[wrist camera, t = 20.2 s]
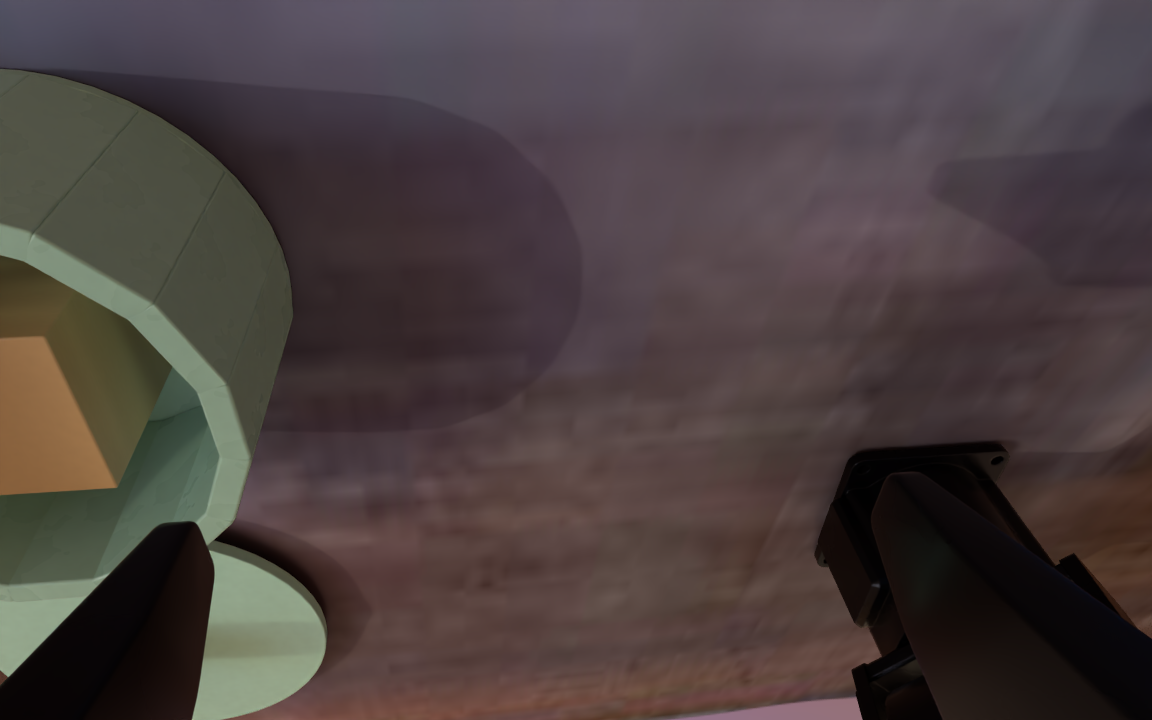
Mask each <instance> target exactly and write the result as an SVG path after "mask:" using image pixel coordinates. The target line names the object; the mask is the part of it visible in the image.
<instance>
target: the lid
mask: <svg viewBox="0 0 1152 720" xmlns="http://www.w3.org/2000/svg"><path fill="white" fill-rule="evenodd" d="M207 547H208V550H209V552H210V554H211V557H212V559H213V563H214V569H215V579H214V587H213V594H212V601H211V608H210V615H209V622H208V629H207V636H206V643H205V650H204V657H203V664H202V671H201V678H200V684H199V690H198V696H197V701H196V705H195V709H194V713H193V718H192V720H222V719H227V718H232V717H237V716H241V715H245V714H248V713H252V712H255V711H258V710H261V709H263V708H266V707H269V706H271V705H273V704H275V703H277V702H279V701H282V700H284V699H285V698H287V697H289V696H290V695H292V694H293V693H295V692H296V691H298V690H299V689H300V688H301V687H303V686H304V685H305V684H306V683H307V682H308V681H309V680H310V679H311V678H312V677H313V675H314V674H315V673H316V672H317V670H318V668H319V666H320V665H321V663H322V661H323V657H324V654H325V651H326V644H327V632H328V631H327V625H326V620H325V617H324V615H323V612H322V610H321V607H320V606H319V604H318V603H317V601H316V600H315V598H314V597H313V595H312V594H311V593H310V592H309V591H308V590H307V589H306V588H305V587H304V586H303V584H301V583H300V582H299V581H298V580H296V579H295V578H294V577H293V576H292V575H290V574H289V573H288V572H286V571H284V570H283V569H281V568H280V567H278V566H276V565H275V564H273V563H271V562H269V561H267V560H265V559H263V558H261V557H259V556H257V555H255V554H253V553H250V552H248V551H245V550H242V549H240V548H237V547H235V546H232V545H228V544H225V543H221V542H218V541H214V540H213V541H212V542H211V543H210V544H209V545H208V546H207ZM85 598H86V597H75V598H62V599H49V600H36V601H24V602H15V601H13V602H6V601H0V671H2V672H3V673H4V674H5V675H6V676H8V677H9V676H10V675H11V674H12V673H13V672H14V671H15V670H16V669H17V668H18V667H19V666H20V665H21V664H22V663H23V662H24V661H25V660H26V659H27V658H28V657H29V655H30V654H31V653H32V652H33V651H34V650H35V649H36V648H37V647H38V646H39V645H40V644H41V643H42V642H43V641H44V640H45V639H46V638H47V637H48V636H49V635H50V634H51V633H52V632H53V631H54V630H55V629H56V628H57V627H58V626H59V625H60V624H61V623H62V622H63V621H64V620H65V619H66V618H67V617H68V616H69V615H70V613H71V612H72V611H73V610H74V609H75V608H76V607H77V606H78V605H79V604H80V603H81V602H82V601H83V600H84V599H85Z"/></svg>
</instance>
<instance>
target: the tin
mask: <svg viewBox="0 0 1152 720" xmlns="http://www.w3.org/2000/svg"><path fill="white" fill-rule="evenodd" d="M0 255H1V256H5V257H9V258H13V259H17V260H21V261H24V262H26V263H28V264H29V265H31V266H33V267H35V268H37V269H38V270H40V271H42V272H44V273H45V274H47V275H49V276H51V277H53V278H54V279H56V280H58V281H60V282H61V283H63V284H65V285H67V286H69V287H70V288H72V289H74V290H76V291H78V292H79V293H81V294H83V295H85V296H86V297H88V298H90V299H92V300H94V301H95V302H97V303H99V304H101V305H102V306H104V307H106V308H108V309H110V310H111V311H113V312H115V313H117V314H118V315H120V316H122V317H124V318H126V319H127V320H129V321H130V322H131V323H132V324H133V325H134V326H135V327H136V328H137V330H138V331H139V332H140V333H141V334H142V335H143V336H144V337H145V338H146V339H147V340H148V341H149V342H150V343H151V344H152V345H153V346H154V347H155V348H156V350H157V351H158V352H159V353H160V354H161V355H162V356H163V357H164V358H165V359H166V360H167V361H168V362H169V363H170V364H171V365H172V366H173V367H172V369H171V371H170V374H169V376H168V378H167V380H166V382H165V384H164V387H163V389H162V391H161V393H160V395H159V398H158V400H157V402H156V404H155V406H154V409H153V411H152V413H151V415H150V417H149V420H148V422H147V424H146V426H145V428H144V431H143V433H142V435H141V437H140V439H139V442H138V444H137V446H136V448H135V450H134V452H133V455H132V457H131V459H130V461H129V463H128V466H127V468H126V470H125V472H124V474H123V477H122V479H121V481H120V483H119V485H118V487H117V488H107V489H91V490H75V491H59V492H43V493H28V494H12V495H0V601H6V602H13V601H15V602H24V601H36V600H49V599H62V598H75V597H87V596H88V595H89V594H90V593H91V592H92V591H93V590H94V589H95V588H96V587H97V586H98V585H99V584H100V583H101V582H102V581H103V580H104V579H105V578H106V577H107V576H108V575H109V574H110V573H111V572H112V570H113V569H114V568H115V567H116V566H117V565H118V564H119V563H120V562H121V561H122V560H123V559H124V558H125V557H126V556H127V555H128V554H129V553H130V552H131V551H132V550H133V549H134V548H135V547H136V546H137V545H138V544H139V543H140V542H141V541H142V540H143V539H144V538H145V537H146V536H147V535H148V534H149V533H150V532H151V531H152V530H153V529H154V528H155V527H156V526H158V525H159V524H161V523H166V522H179V521H193V522H195V523H196V524H197V525H198V526H199V528H200V530H201V532H202V535H203V537H204V540H205V542H206V545H207V546H208V545H209V544H210V543H211V542H212V541H213V540H214V539H216V538H217V537H218V536H219V535H220V534H221V533H222V532H223V531H224V530H225V529H227V528H228V527H229V526H230V525H231V524H232V523H233V521H234V520H235V519H236V516H237V512H238V509H239V505H240V502H241V498H242V495H243V491H244V488H245V484H246V481H247V477H248V473H249V470H250V466H251V463H252V459H253V456H254V452H255V449H256V445H257V442H258V438H259V435H260V431H261V428H262V424H263V421H264V417H265V414H266V410H267V407H268V403H269V400H270V396H271V393H272V389H273V386H274V382H275V379H276V375H277V372H278V368H279V365H280V361H281V358H282V354H283V350H284V347H285V343H286V340H287V336H288V333H289V329H290V326H291V322H292V319H293V307H292V290H291V283H290V276H289V271H288V267H287V264H286V261H285V258H284V254H283V251H282V248H281V246H280V244H279V242H278V240H277V238H276V235H275V233H274V231H273V229H272V227H271V225H270V223H269V222H268V220H267V219H266V217H265V215H264V214H263V212H262V211H261V209H260V208H259V206H258V204H257V203H256V201H255V200H254V199H253V198H252V196H251V195H250V194H249V193H248V192H247V190H246V189H245V188H244V187H243V185H242V184H241V183H240V182H239V181H238V179H237V178H236V177H235V176H234V175H233V174H232V173H231V172H230V171H229V170H228V169H227V168H226V167H225V166H224V165H223V164H222V163H221V162H220V161H218V160H217V159H216V158H215V157H214V156H213V155H212V154H211V153H209V152H208V151H207V150H206V149H204V148H203V147H202V146H201V145H199V144H198V143H197V142H196V141H194V140H193V139H192V138H191V137H189V136H188V135H186V134H185V133H183V132H182V131H180V130H179V129H177V128H176V127H174V126H173V125H171V124H169V123H168V122H166V121H165V120H163V119H162V118H160V117H159V116H157V115H155V114H153V113H151V112H149V111H147V110H145V109H143V108H141V107H139V106H137V105H135V104H133V103H131V102H129V101H127V100H125V99H123V98H120V97H118V96H115V95H113V94H110V93H107V92H105V91H102V90H100V89H97V88H95V87H92V86H89V85H85V84H82V83H78V82H75V81H71V80H68V79H64V78H61V77H57V76H51V75H46V74H40V73H34V72H28V71H22V70H11V69H0Z"/></svg>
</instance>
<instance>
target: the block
mask: <svg viewBox="0 0 1152 720" xmlns="http://www.w3.org/2000/svg"><path fill="white" fill-rule="evenodd" d="M172 367H173V366H172V365H171V364H170V363H169V362H168V361H167V360H166V359H165V358H164V357H163V356H162V355H161V354H160V353H159V352H158V351H157V350H156V348H155V347H154V346H153V345H152V344H151V343H150V342H149V341H148V340H147V339H146V338H145V337H144V336H143V335H142V334H141V333H140V332H139V331H138V330H137V328H136V327H135V326H134V325H133V324H132V323H131V322H130V321H129V320H127V319H126V318H124V317H122V316H120V315H118V314H117V313H115V312H113V311H111V310H110V309H108V308H106V307H104V306H102V305H101V304H99V303H97V302H95V301H94V300H92V299H90V298H88V297H86V296H85V295H83V294H81V293H79V292H78V291H76V290H74V289H72V288H70V287H69V286H67V285H65V284H63V283H61V282H60V281H58V280H56V279H54V278H53V277H51V276H49V275H47V274H45V273H44V272H42V271H40V270H38V269H37V268H35V267H33V266H31V265H29V264H28V263H26V262H24V261H21V260H17V259H13V258H9V257H5V256H1V255H0V495H12V494H28V493H43V492H59V491H75V490H91V489H107V488H117V487H118V485H119V483H120V481H121V479H122V477H123V474H124V472H125V470H126V468H127V466H128V463H129V461H130V459H131V457H132V455H133V452H134V450H135V448H136V446H137V444H138V442H139V439H140V437H141V435H142V433H143V431H144V428H145V426H146V424H147V422H148V420H149V417H150V415H151V413H152V411H153V409H154V406H155V404H156V402H157V400H158V398H159V395H160V393H161V391H162V389H163V387H164V384H165V382H166V380H167V378H168V376H169V374H170V371H171V369H172Z"/></svg>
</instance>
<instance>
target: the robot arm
mask: <svg viewBox="0 0 1152 720" xmlns="http://www.w3.org/2000/svg"><path fill="white" fill-rule="evenodd" d="M1009 458H1010V455H1009V453H1008V452H1007V451H1006V449H1005V448H1004V447H1003V446H1002V445H999V444H993V445H977V446H962V447H946V448H931V449H915V450H900V451H884V452H869V453H860V454H856V455H854V456H852V457H851V458H850V459H849V460H848V462H847V464H846V467H845V470H844V472H843V475H842V478H841V481H840V484H839V486H838V489H837V492H836V495H835V497H834V500H833V502H832V503H831V505H830V508H829V511H828V514H827V516H826V519H825V522H824V525H823V528H822V530H821V533H820V536H819V539H818V545H817V548H816V550H815V554H814V556H815V558H816V561H817V563H818V564H819V566H822V567H829V568H830V571H831V573H832V575H833V577H834V579H835V582H836V584H837V586H838V588H839V590H840V593H841V595H842V597H843V599H844V601H845V604H846V606H847V608H848V610H849V612H850V615H851V617H852V619H853V621H854V623H855V624H856V625H857V626H859V627H860V628H869V630H870V632H871V634H872V636H873V638H874V641H875V643H876V645H877V647H878V649H879V651H880V653H881V656H882V657H880V658H879V659H877V660H875V661H873V662H871V663H869V664H866V663H863V664H861V665H859V666H857V667H856V668H854V669H852V675H853V679H854V682H855V686H856V690H857V691H856V697H857V701H858V704H859V708H860V712H861V715H862V719H863V720H1152V639H1151V638H1150V637H1148V636H1147V635H1146V634H1144V633H1143V632H1141V631H1140V630H1139V629H1138V628H1137V627H1136V626H1135V625H1134V623H1133V622H1132V621H1131V619H1130V618H1129V617H1128V616H1127V614H1126V613H1125V612H1124V611H1123V609H1122V608H1121V607H1120V605H1119V604H1118V603H1117V602H1116V601H1115V599H1114V598H1113V597H1112V596H1111V595H1110V594H1109V593H1108V591H1107V590H1106V589H1105V588H1104V587H1103V586H1102V584H1101V583H1100V582H1099V581H1098V580H1097V579H1096V578H1095V576H1094V575H1093V574H1092V573H1091V572H1090V571H1089V570H1088V568H1087V567H1086V566H1085V565H1084V564H1083V563H1082V562H1081V560H1080V559H1079V558H1078V557H1077V556H1076V555H1075V554H1074V553H1073V554H1071V555H1069V556H1067V557H1065V558H1063V559H1061V560H1059V562H1060V564H1058V565H1056V566H1055V564H1054V563H1053V562H1052V560H1051V559H1050V558H1049V556H1048V555H1047V553H1046V552H1045V551H1044V549H1043V548H1042V547H1041V545H1040V544H1039V543H1038V541H1037V540H1036V538H1035V537H1034V536H1033V534H1032V533H1031V532H1030V530H1029V529H1028V527H1027V526H1026V525H1025V523H1024V522H1023V521H1022V519H1021V518H1020V517H1019V515H1018V514H1017V512H1016V511H1015V510H1014V508H1013V507H1012V506H1011V504H1010V503H1009V502H1008V500H1007V499H1006V497H1005V496H1004V495H1003V493H1002V492H1001V491H1000V489H999V488H998V487H997V485H996V483H997V481H998V479H999V477H1000V476H1001V474H1002V472H1003V470H1004V468H1005V466H1006V464H1007V463H1008V461H1009ZM214 579H215V569H214V563H213V559H212V557H211V554H210V552H209V550H208V547H207V545H206V542H205V540H204V537H203V535H202V532H201V530H200V528H199V526H198V525H197V524H196V523H195V522H193V521H179V522H166V523H161V524H159V525H158V526H156V527H155V528H154V529H153V530H152V531H151V532H150V533H149V534H148V535H147V536H146V537H145V538H144V539H143V540H142V541H141V542H140V543H139V544H138V545H137V546H136V547H135V548H134V549H133V550H132V551H131V552H130V553H129V554H128V555H127V556H126V557H125V558H124V559H123V560H122V561H121V562H120V563H119V564H118V565H117V566H116V567H115V568H114V569H113V570H112V572H111V573H110V574H109V575H108V576H107V577H106V578H105V579H104V580H103V581H102V582H101V583H100V584H99V585H98V586H97V587H96V588H95V589H94V590H93V591H92V592H91V593H90V594H89V595H88V596H87V597H86V598H85V599H84V600H83V601H82V602H81V603H80V604H79V605H78V606H77V607H76V608H75V609H74V610H73V611H72V612H71V613H70V615H69V616H68V617H67V618H66V619H65V620H64V621H63V622H62V623H61V624H60V625H59V626H58V627H57V628H56V629H55V630H54V631H53V632H52V633H51V634H50V635H49V636H48V637H47V638H46V639H45V640H44V641H43V642H42V643H41V644H40V645H39V646H38V647H37V648H36V649H35V650H34V651H33V652H32V653H31V654H30V655H29V657H28V658H27V659H26V660H25V661H24V662H23V663H22V664H21V665H20V666H19V667H18V668H17V669H16V670H15V671H14V672H13V673H12V674H11V675H10V676H9V677H8V678H7V679H6V680H5V681H4V682H3V683H2V684H1V685H0V720H192V718H193V713H194V709H195V705H196V701H197V696H198V690H199V684H200V678H201V671H202V664H203V657H204V650H205V643H206V636H207V629H208V622H209V615H210V608H211V601H212V594H213V587H214Z"/></svg>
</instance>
